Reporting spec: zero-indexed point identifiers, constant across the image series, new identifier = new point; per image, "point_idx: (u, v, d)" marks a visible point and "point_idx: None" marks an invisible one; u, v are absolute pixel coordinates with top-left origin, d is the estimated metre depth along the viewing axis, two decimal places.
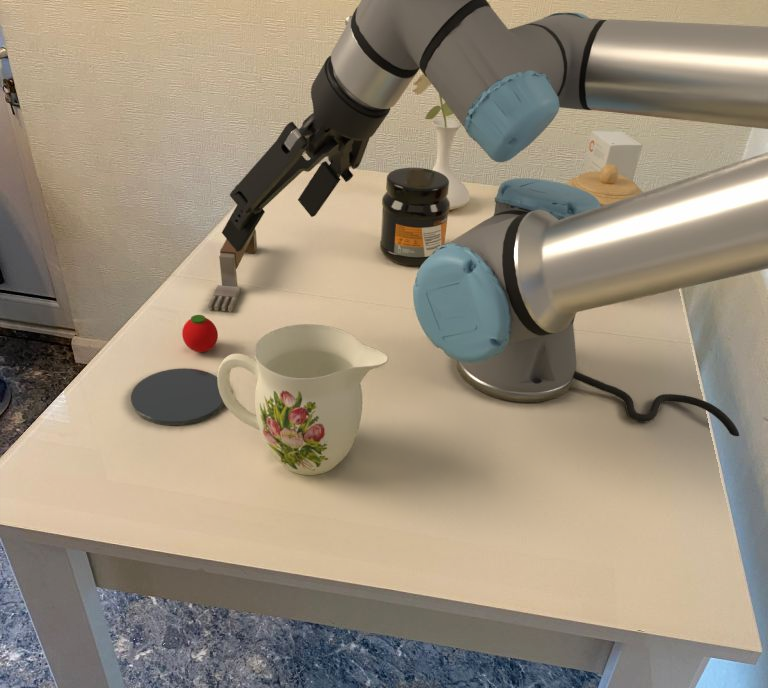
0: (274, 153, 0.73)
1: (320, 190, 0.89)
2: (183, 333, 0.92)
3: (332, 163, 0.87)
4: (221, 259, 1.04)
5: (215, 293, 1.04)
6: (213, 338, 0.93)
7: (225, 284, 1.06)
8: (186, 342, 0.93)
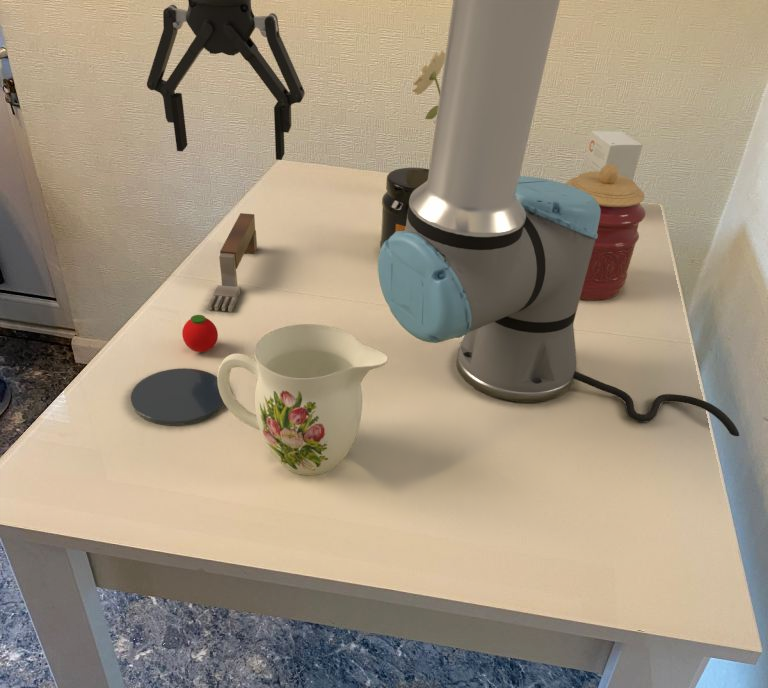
0: None
1: None
2: (183, 333, 0.92)
3: None
4: (221, 259, 1.04)
5: (215, 293, 1.04)
6: (213, 338, 0.93)
7: (225, 284, 1.06)
8: (186, 342, 0.93)
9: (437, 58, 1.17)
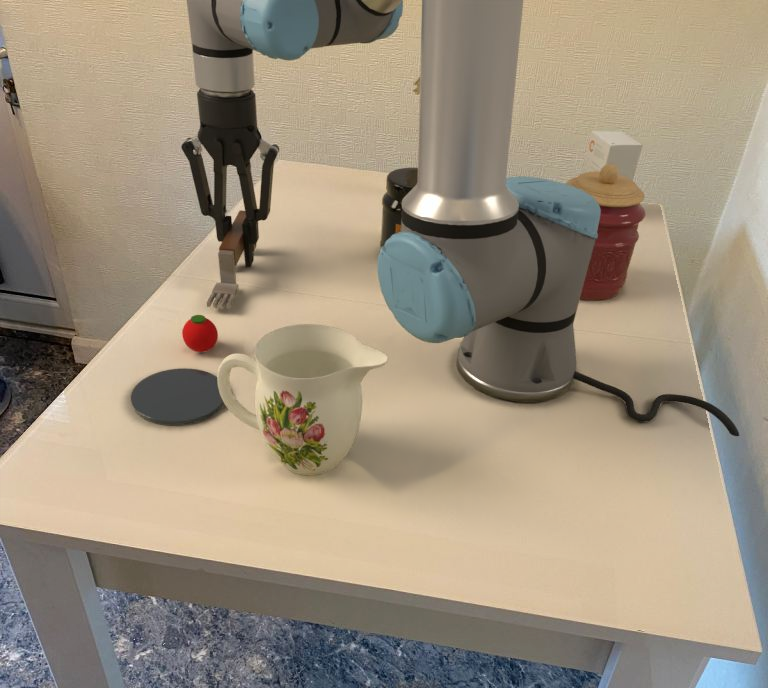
0: None
1: None
2: (183, 333, 0.92)
3: None
4: (220, 256, 1.03)
5: (214, 290, 1.03)
6: (213, 338, 0.93)
7: (224, 281, 1.05)
8: (186, 342, 0.93)
9: None
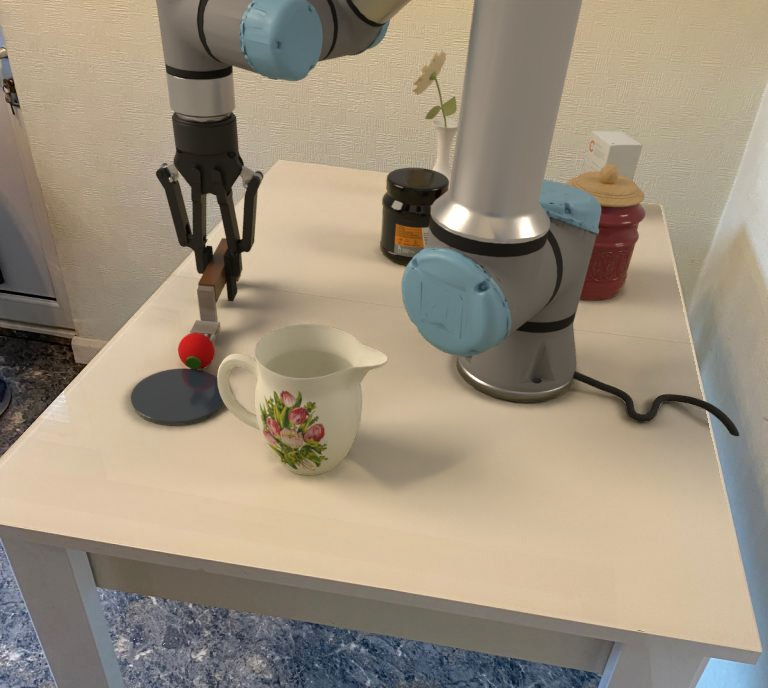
0: None
1: None
2: None
3: None
4: (199, 292, 0.94)
5: (193, 330, 0.95)
6: None
7: (204, 319, 0.97)
8: None
9: (437, 58, 1.17)
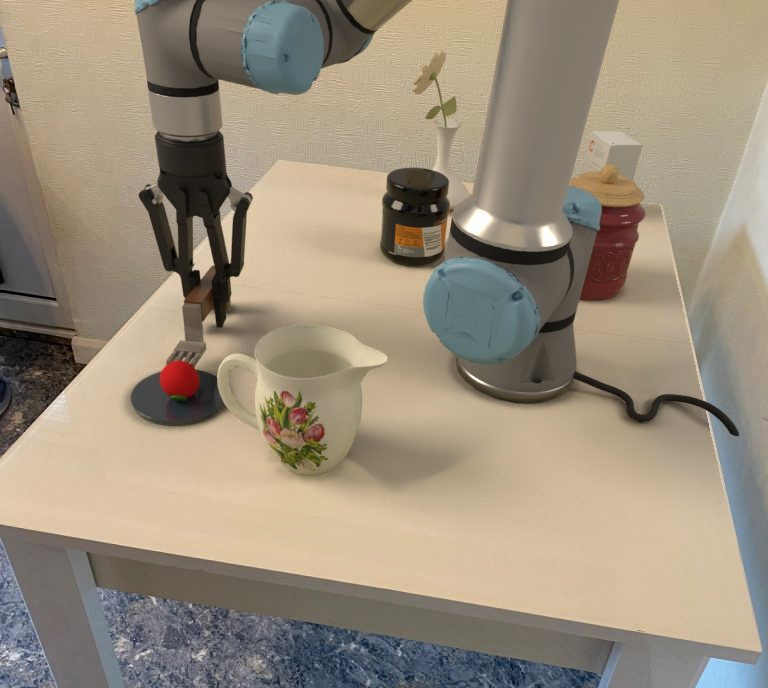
0: None
1: None
2: None
3: None
4: (184, 309, 0.88)
5: (176, 348, 0.89)
6: None
7: (189, 339, 0.91)
8: None
9: (437, 58, 1.17)
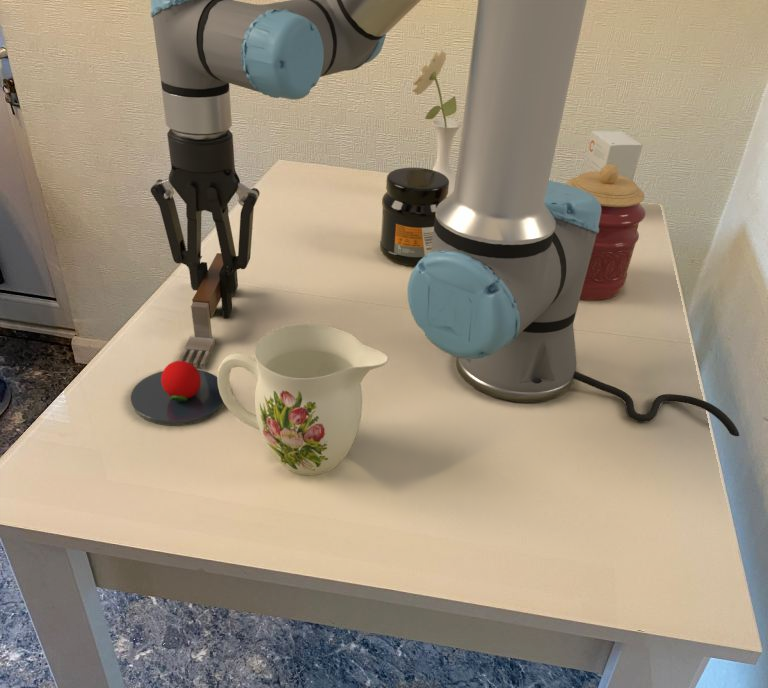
0: None
1: None
2: None
3: None
4: (193, 309, 0.93)
5: (186, 346, 0.94)
6: None
7: (198, 335, 0.95)
8: None
9: (437, 58, 1.17)
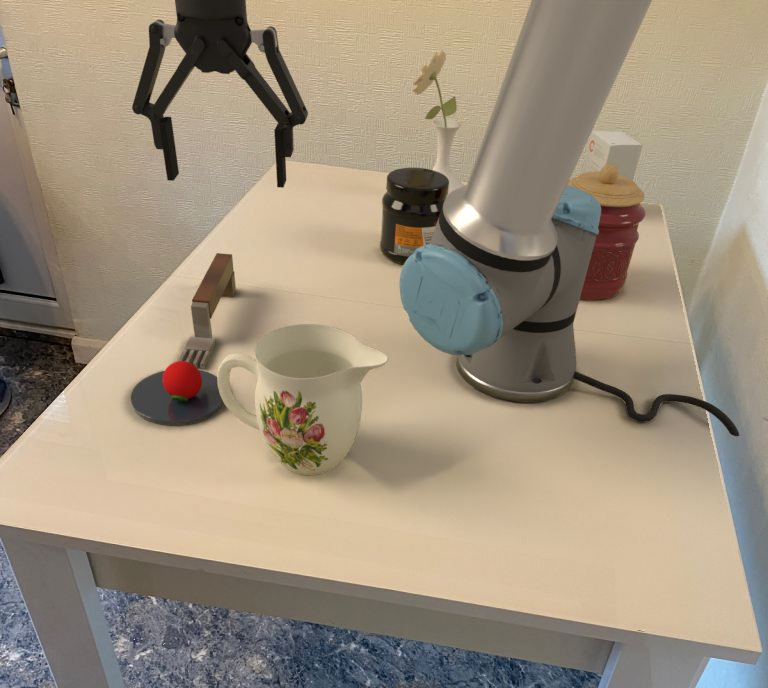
0: None
1: None
2: None
3: None
4: (193, 309, 0.93)
5: (186, 346, 0.94)
6: None
7: (198, 335, 0.95)
8: None
9: (437, 58, 1.17)
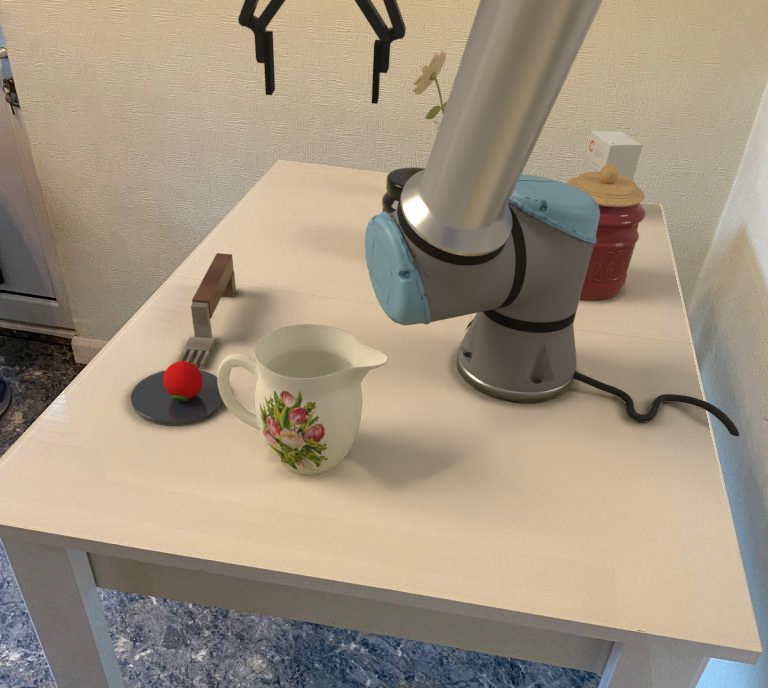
0: None
1: None
2: None
3: None
4: (193, 309, 0.93)
5: (186, 346, 0.94)
6: None
7: (198, 335, 0.95)
8: None
9: (437, 58, 1.17)
